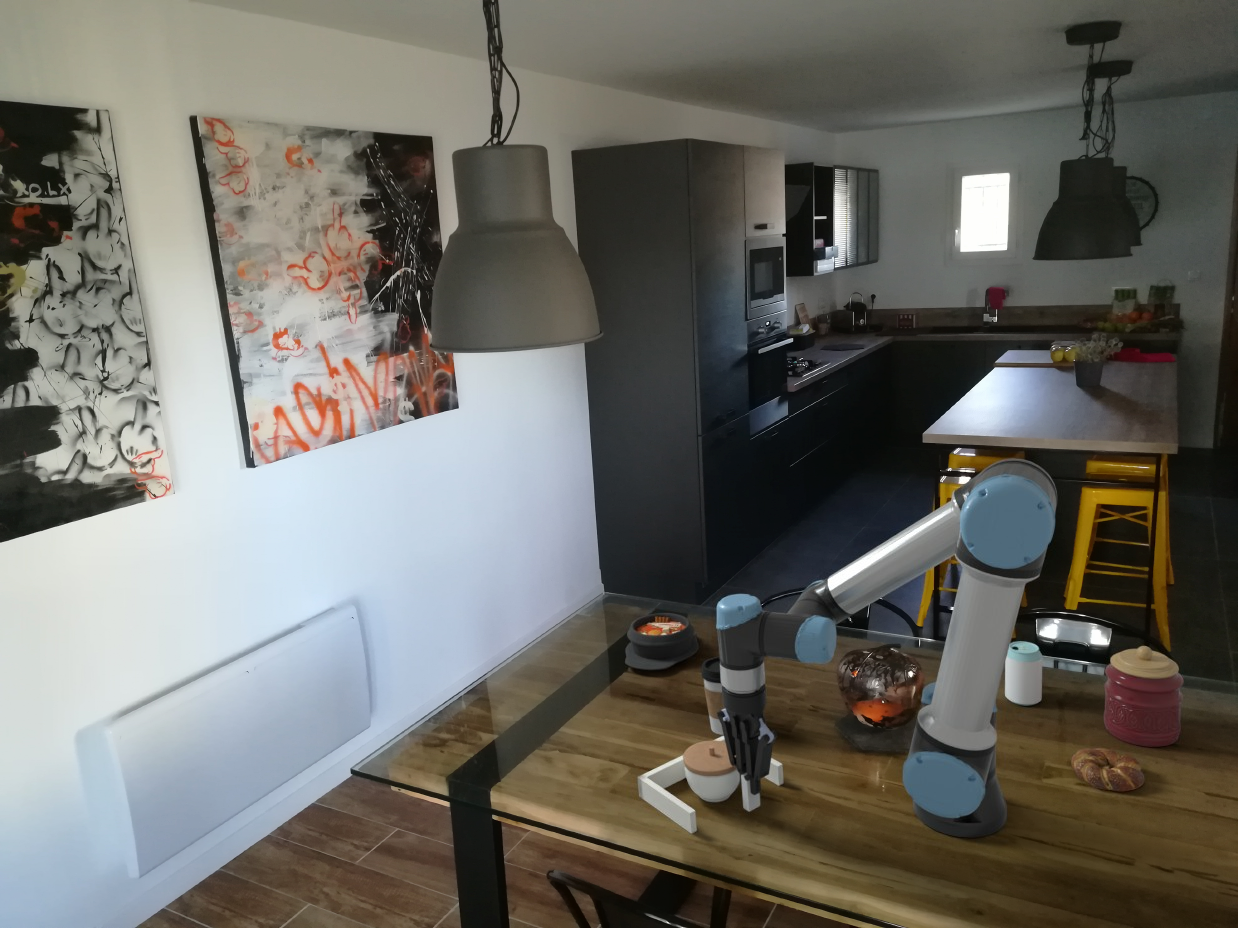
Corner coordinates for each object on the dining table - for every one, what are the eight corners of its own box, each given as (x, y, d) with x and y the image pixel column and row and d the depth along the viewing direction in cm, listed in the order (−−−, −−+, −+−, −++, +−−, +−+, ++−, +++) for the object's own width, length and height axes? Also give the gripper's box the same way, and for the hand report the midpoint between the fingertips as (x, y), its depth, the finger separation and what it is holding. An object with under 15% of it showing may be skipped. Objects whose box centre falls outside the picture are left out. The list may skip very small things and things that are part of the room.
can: (1024, 710, 186) (1025, 656, 183) (997, 696, 192) (997, 644, 189) (1049, 701, 188) (1050, 648, 186) (1021, 688, 195) (1022, 636, 192)
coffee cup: (744, 738, 184) (739, 671, 181) (703, 737, 186) (698, 671, 183) (746, 718, 192) (742, 653, 189) (707, 717, 194) (702, 653, 191)
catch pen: (783, 783, 168) (782, 763, 167) (691, 833, 155) (689, 813, 155) (728, 751, 180) (727, 733, 179) (639, 796, 168) (637, 776, 167)
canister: (1187, 726, 175) (1192, 642, 171) (1171, 755, 166) (1175, 667, 162) (1113, 708, 184) (1117, 627, 180) (1094, 735, 174) (1097, 651, 171)
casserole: (647, 631, 242) (645, 602, 240) (713, 638, 234) (711, 608, 232) (608, 672, 220) (605, 640, 218) (679, 681, 212) (676, 648, 210)
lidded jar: (728, 815, 160) (725, 768, 157) (675, 800, 165) (671, 755, 163) (753, 784, 168) (750, 739, 166) (701, 771, 174) (698, 727, 172)
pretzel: (1057, 775, 163) (1057, 757, 163) (1088, 752, 170) (1088, 734, 169) (1126, 802, 154) (1126, 783, 153) (1156, 777, 160) (1156, 759, 159)
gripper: (786, 689, 150) (793, 814, 155) (734, 665, 161) (742, 783, 166) (753, 704, 146) (762, 832, 151) (702, 679, 157) (711, 799, 162)
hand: (751, 806), depth 159 cm, fingers closed
